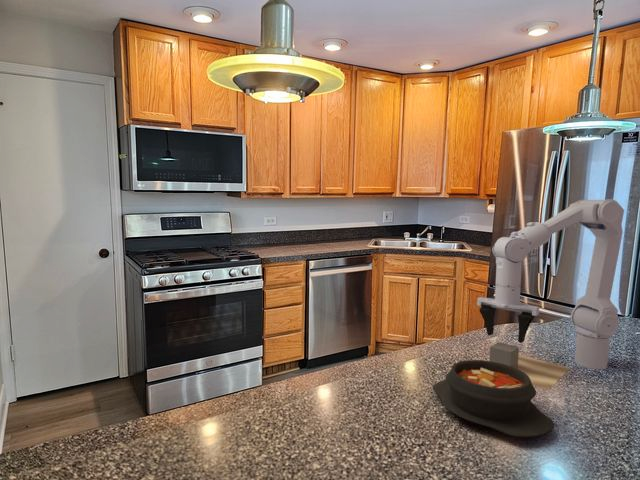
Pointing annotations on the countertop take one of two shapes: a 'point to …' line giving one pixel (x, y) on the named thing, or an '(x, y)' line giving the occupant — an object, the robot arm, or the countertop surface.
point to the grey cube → (504, 354)
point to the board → (541, 371)
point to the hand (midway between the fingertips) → (505, 338)
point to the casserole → (493, 398)
